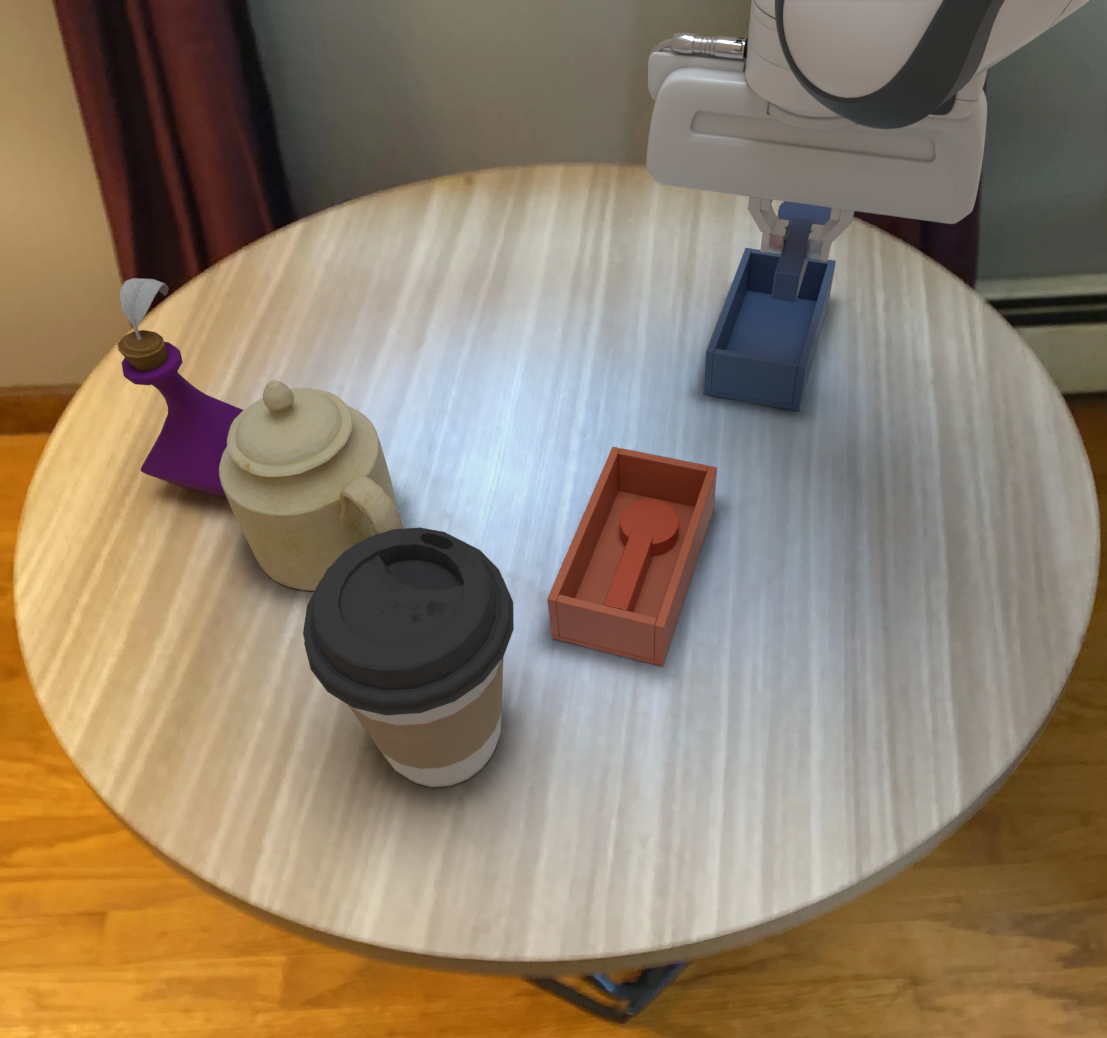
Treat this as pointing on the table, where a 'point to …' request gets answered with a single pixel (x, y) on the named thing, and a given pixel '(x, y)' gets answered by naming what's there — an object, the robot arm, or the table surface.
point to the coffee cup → (415, 649)
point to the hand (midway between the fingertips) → (795, 252)
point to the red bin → (601, 549)
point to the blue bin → (767, 334)
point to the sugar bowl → (305, 481)
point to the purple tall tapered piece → (174, 401)
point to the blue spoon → (795, 247)
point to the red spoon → (641, 548)
